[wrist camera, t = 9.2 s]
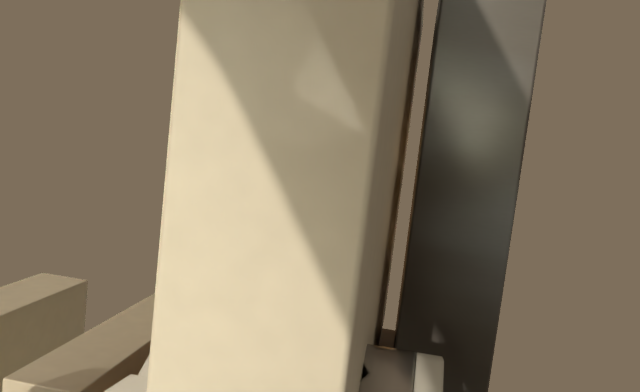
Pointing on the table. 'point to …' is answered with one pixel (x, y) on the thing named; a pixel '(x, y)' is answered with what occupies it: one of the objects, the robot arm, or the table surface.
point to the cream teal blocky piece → (66, 338)
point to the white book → (281, 192)
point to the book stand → (467, 184)
